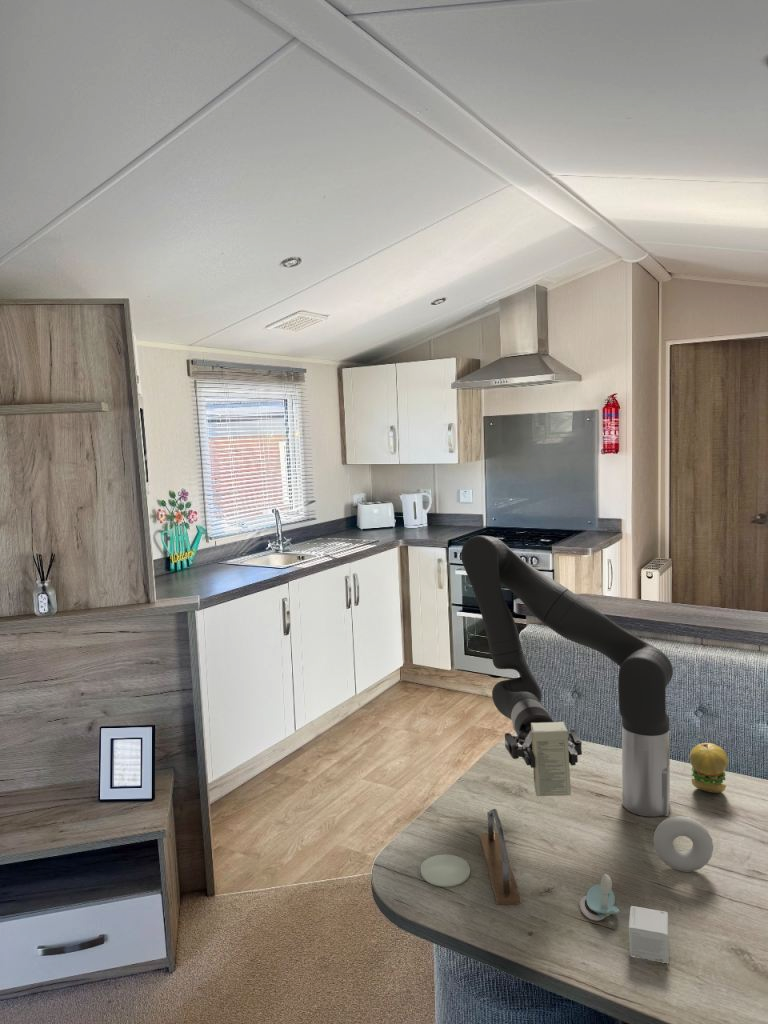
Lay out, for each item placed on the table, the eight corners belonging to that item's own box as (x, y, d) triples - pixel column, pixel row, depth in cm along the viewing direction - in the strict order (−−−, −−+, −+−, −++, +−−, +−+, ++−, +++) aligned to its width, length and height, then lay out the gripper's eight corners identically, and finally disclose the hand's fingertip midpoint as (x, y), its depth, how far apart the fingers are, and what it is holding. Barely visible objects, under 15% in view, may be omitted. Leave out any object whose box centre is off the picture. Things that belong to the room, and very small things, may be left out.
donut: (711, 867, 133) (712, 815, 132) (714, 879, 130) (715, 825, 129) (652, 861, 136) (652, 809, 135) (653, 872, 132) (653, 819, 131)
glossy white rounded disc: (476, 863, 137) (476, 860, 137) (461, 891, 129) (461, 888, 129) (430, 853, 141) (430, 850, 141) (413, 880, 133) (413, 877, 133)
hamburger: (730, 789, 160) (730, 736, 159) (725, 804, 154) (726, 749, 153) (691, 782, 164) (692, 730, 163) (686, 796, 158) (686, 743, 157)
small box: (630, 933, 117) (630, 904, 117) (669, 940, 115) (669, 911, 115) (628, 957, 112) (628, 927, 111) (668, 966, 110) (668, 935, 109)
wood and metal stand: (479, 839, 145) (478, 791, 144) (499, 838, 145) (498, 790, 144) (497, 904, 125) (495, 849, 124) (520, 903, 125) (519, 848, 124)
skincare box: (567, 784, 135) (566, 720, 134) (571, 796, 131) (569, 730, 130) (532, 785, 136) (530, 721, 135) (534, 796, 132) (532, 731, 130)
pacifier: (583, 925, 120) (621, 925, 119) (582, 889, 119) (620, 888, 118) (576, 897, 127) (612, 896, 126) (575, 862, 126) (611, 862, 126)
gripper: (496, 708, 147) (512, 743, 130) (568, 703, 147) (593, 738, 130) (497, 744, 147) (513, 784, 131) (569, 740, 148) (594, 779, 131)
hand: (553, 761), depth 131 cm, fingers closed on skincare box, 6 cm apart
